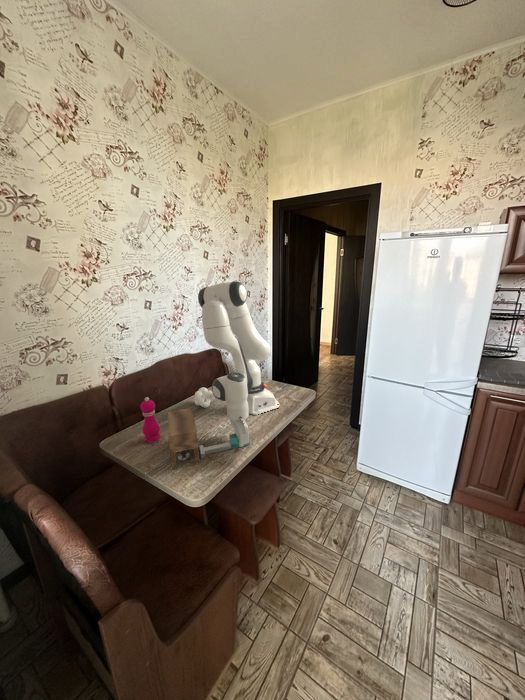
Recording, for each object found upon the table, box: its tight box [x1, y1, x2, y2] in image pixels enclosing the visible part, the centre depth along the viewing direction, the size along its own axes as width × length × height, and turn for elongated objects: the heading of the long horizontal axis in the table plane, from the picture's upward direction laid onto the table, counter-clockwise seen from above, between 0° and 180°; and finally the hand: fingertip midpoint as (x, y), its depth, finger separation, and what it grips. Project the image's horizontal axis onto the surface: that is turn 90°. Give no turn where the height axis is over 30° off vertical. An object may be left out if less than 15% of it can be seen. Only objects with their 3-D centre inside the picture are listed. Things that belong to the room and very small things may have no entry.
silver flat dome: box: [177, 451, 190, 462], centre depth 111 cm, size 4×4×1 cm
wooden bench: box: [167, 407, 201, 470], centre depth 113 cm, size 10×20×14 cm, turn 19°
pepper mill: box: [140, 396, 161, 443], centre depth 122 cm, size 7×7×20 cm
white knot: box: [194, 387, 216, 409], centre depth 155 cm, size 11×12×9 cm
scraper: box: [198, 432, 251, 459], centre depth 116 cm, size 20×6×5 cm, turn 109°
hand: (239, 441), depth 118 cm, fingers open, 5 cm apart
